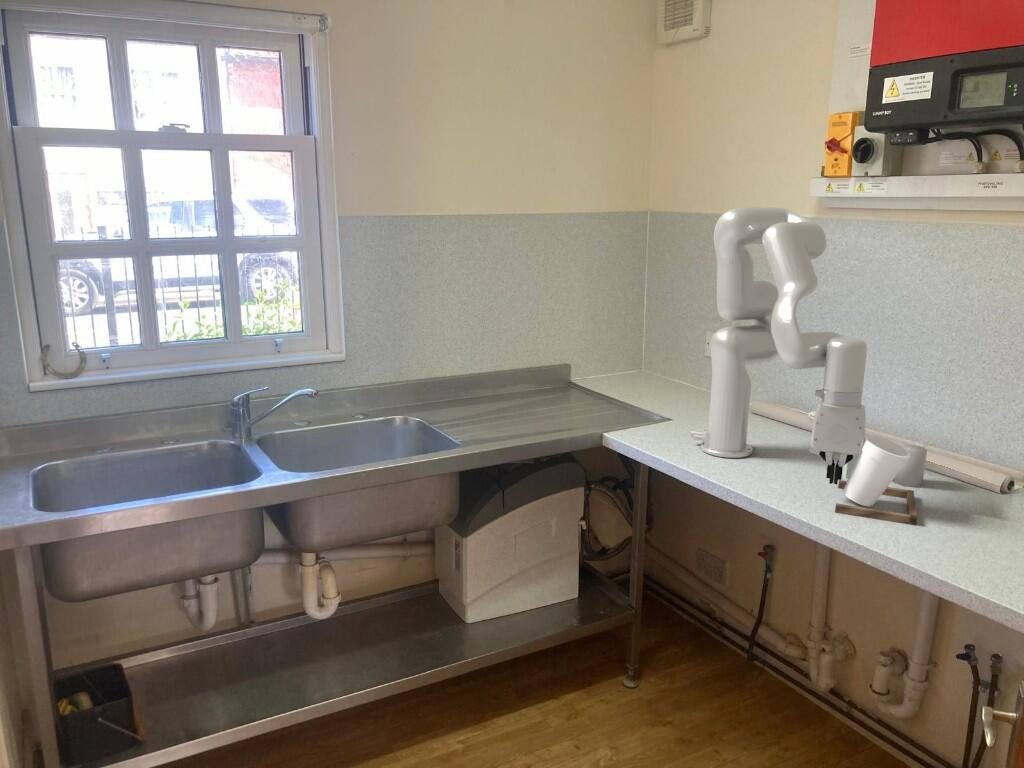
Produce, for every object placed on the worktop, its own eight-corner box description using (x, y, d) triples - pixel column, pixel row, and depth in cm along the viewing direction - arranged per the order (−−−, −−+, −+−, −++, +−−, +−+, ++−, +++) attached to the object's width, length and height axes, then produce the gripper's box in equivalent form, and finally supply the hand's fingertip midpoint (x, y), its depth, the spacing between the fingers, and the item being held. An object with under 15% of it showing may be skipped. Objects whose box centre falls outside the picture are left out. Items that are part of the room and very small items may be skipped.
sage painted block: (845, 478, 179) (848, 457, 177) (840, 470, 183) (843, 450, 182) (868, 479, 178) (871, 459, 177) (863, 472, 183) (865, 452, 181)
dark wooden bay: (834, 512, 159) (835, 505, 158) (838, 486, 173) (839, 479, 173) (916, 525, 153) (917, 517, 152) (912, 497, 167) (913, 490, 167)
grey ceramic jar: (893, 484, 175) (897, 450, 173) (892, 476, 180) (896, 443, 178) (923, 488, 172) (927, 454, 170) (921, 480, 178) (926, 446, 176)
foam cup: (850, 506, 158) (880, 452, 153) (828, 481, 167) (855, 429, 162) (889, 514, 161) (920, 461, 156) (865, 489, 169) (893, 438, 164)
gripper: (801, 397, 161) (794, 482, 165) (881, 405, 154) (871, 493, 158) (805, 390, 167) (798, 471, 171) (881, 397, 161) (872, 482, 165)
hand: (833, 482), depth 165 cm, fingers closed
